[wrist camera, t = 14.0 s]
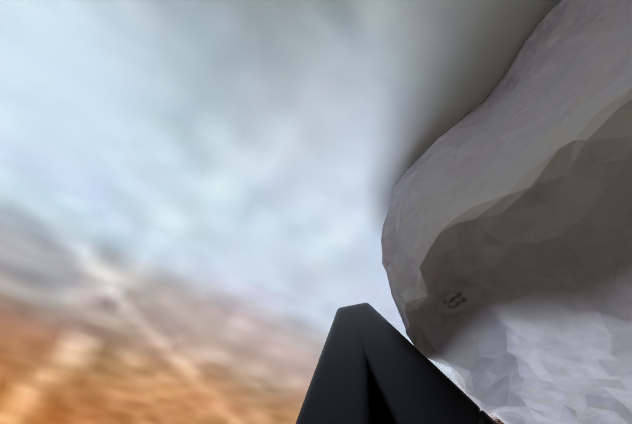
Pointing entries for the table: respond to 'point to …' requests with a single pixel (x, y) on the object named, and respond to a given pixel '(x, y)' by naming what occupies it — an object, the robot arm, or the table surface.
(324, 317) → the table surface
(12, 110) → the table surface
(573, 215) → the stone block
